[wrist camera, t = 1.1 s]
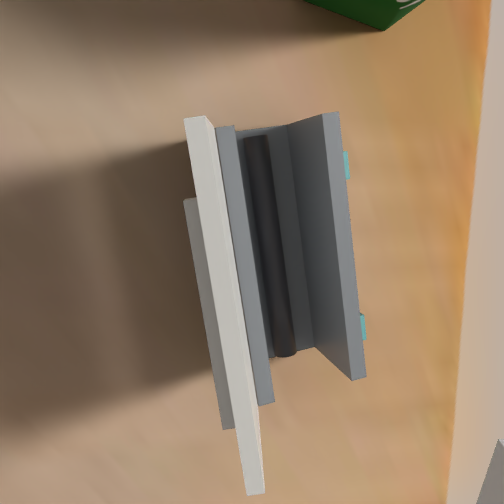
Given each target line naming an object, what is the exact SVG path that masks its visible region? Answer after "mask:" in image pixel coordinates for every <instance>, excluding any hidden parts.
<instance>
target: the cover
mask: <svg viewBox="0 0 504 504" xmlns="http://www.w3.org/2000/svg"><path fill="white" fill-rule="evenodd" d="M184 125H185V131H186V137H187V143H188V149H189V154H190V160H191V166H192V172H193V178H194V184H195V190H196V196H197V197H195V198H188V199H184V200H183V204H184V210H185V215H186V221H187V227H188V232H189V238H190V244H191V250H192V255H193V261H194V267H195V273H196V278H197V284H198V290H199V296H200V301H201V307H202V313H203V319H204V324H205V330H206V336H207V341H208V347H209V353H210V359H211V364H212V370H213V376H214V382H215V387H216V393H217V399H218V405H219V410H220V416H221V422H222V428H223V430H225V429H232V428H236V434H237V440H238V446H239V452H240V458H241V464H242V469H243V475H244V481H245V487H246V493H247V496H250V495H257V494H264V493H265V485H264V473H263V461H262V449H261V437H260V425H259V413H258V405H257V399H256V392H255V386H254V379H253V373H252V367H251V360H250V354H249V347H248V341H247V335H246V328H245V322H244V315H243V309H242V303H241V296H240V290H239V283H238V277H237V271H236V264H235V258H234V251H233V245H232V239H231V232H230V226H229V219H228V213H227V207H226V200H225V194H224V187H223V181H222V175H221V168H220V162H219V155H218V149H217V143H216V136H215V130H214V127H213V125H212V124H211V123H210V121H209V120H208V119H207V117H206V116H205V115H204V116H197V117H191V118H184Z"/></svg>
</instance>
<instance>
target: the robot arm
mask: <svg viewBox="0 0 504 504" xmlns="http://www.w3.org/2000/svg"><path fill="white" fill-rule="evenodd" d="M476 504H504V439H498V441H497V444H496V447H495V450H494V453H493V456H492V459H491V462H490V465H489V468H488V471H487V474H486V477H485V480H484V482H483V485H482V488H481V491H480V494H479V497H478V500H477V503H476Z"/></svg>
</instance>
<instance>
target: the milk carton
mask: <svg viewBox="0 0 504 504" xmlns="http://www.w3.org/2000/svg"><path fill="white" fill-rule="evenodd" d="M304 1H306V2H309V3H311V4H314V5H317V6H319V7H322V8H325V9H327V10H330V11H332V12H335V13H338V14H340V15H343V16H346V17H348V18H351V19H353V20H356V21H359V22H361V23H364V24H367V25H369V26H372V27H374V28H377V29H380V30H382V31H385V30H386V29H388V28H389V27H390V26H392V25H393V24H394V23H396V22H397V21H398V20H400V19H401V18H402V17H404V16H405V15H406V14H408V13H409V12H410V11H412V10H413V9H414V8H416V7H417V6H418V5H420V4H421V3H422V2H424V1H425V0H304Z"/></svg>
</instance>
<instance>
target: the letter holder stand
mask: <svg viewBox="0 0 504 504" xmlns="http://www.w3.org/2000/svg"><path fill="white" fill-rule="evenodd" d="M214 130H215V136H216V143H217V149H218V155H219V162H220V168H221V175H222V181H223V187H224V194H225V200H226V207H227V213H228V219H229V226H230V232H231V239H232V245H233V251H234V258H235V264H236V271H237V277H238V283H239V290H240V296H241V303H242V309H243V315H244V322H245V328H246V335H247V341H248V347H249V354H250V360H251V367H252V373H253V379H254V386H255V392H256V399H257V404H258V406H262V405H265V404H269V403H273V402H275V399H274V392H273V385H272V379H271V372H270V365H269V358H272V357H276V356H277V357H290V356H292V355H294V354H296V352H297V351H300V350H304V349H308V348H312V347H315V348H317V349H318V350H319V351H320V352H321V353H322V354H323V355H324V356H325V357H326V358H327V359H329V360H330V361H331V362H332V363H333V364H334V365H335V366H336V367H337V368H338V369H339V370H340V371H342V372H343V373H344V374H345V375H346V376H347V377H348V378H349V379H350V380H351V381H353V380H357V379H361V378H364V377H366V368H365V358H364V348H363V340H366V330H365V320H364V315H363V314H361V313H360V310H359V300H358V291H357V281H356V272H355V262H354V252H353V243H352V233H351V224H350V214H349V204H348V195H347V185H346V179H350V174H349V164H348V154H347V151H343V147H342V137H341V128H340V118H339V112H332V113H324V114H320V115H317V116H313V117H310V118H307V119H304V120H301V121H297V122H294V123H291V124H288V125H282V126H274V127H267V128H260V129H252V130H245V131H237V132H235V128H234V125H233V126H225V127H218V128H214Z"/></svg>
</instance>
